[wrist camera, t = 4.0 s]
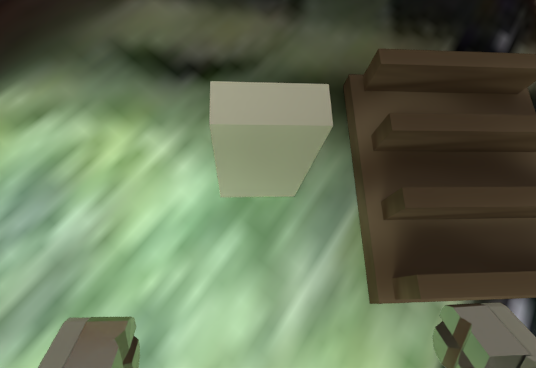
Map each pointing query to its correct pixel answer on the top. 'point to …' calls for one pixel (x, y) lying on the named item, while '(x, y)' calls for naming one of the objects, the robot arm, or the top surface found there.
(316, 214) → the top surface
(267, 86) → the clay tile
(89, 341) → the robot arm
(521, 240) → the rack
